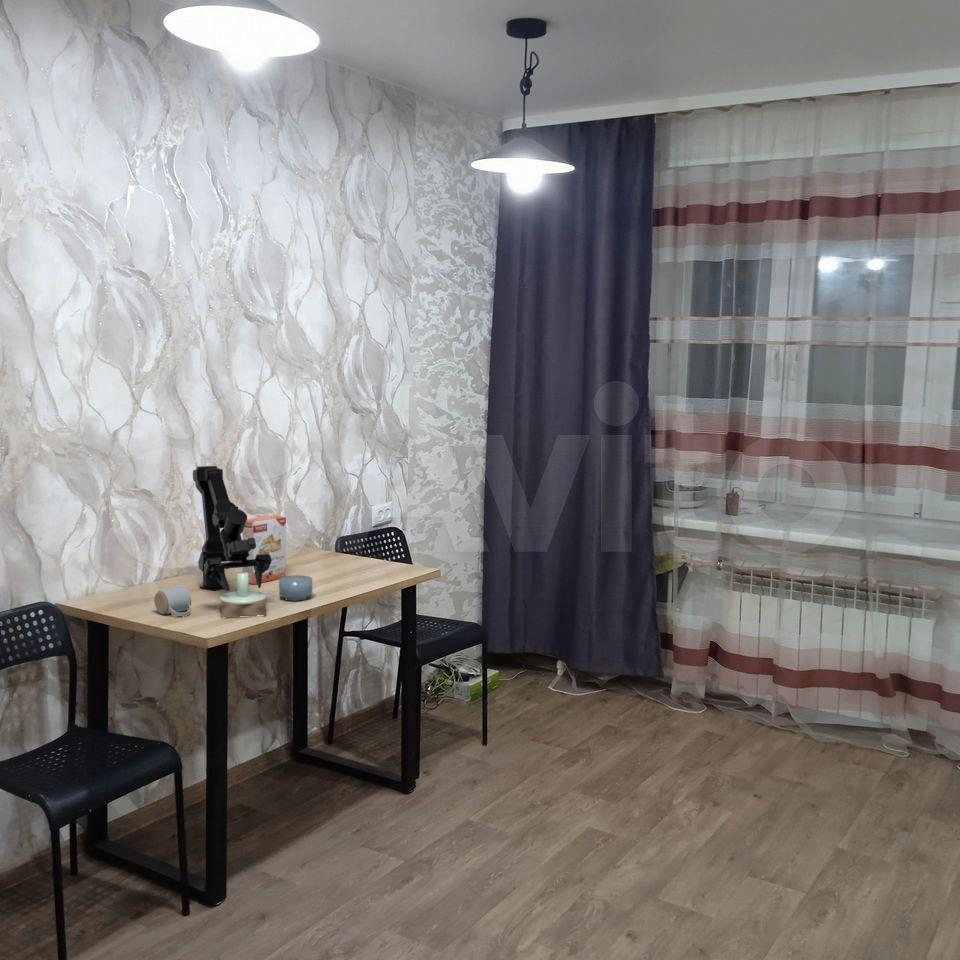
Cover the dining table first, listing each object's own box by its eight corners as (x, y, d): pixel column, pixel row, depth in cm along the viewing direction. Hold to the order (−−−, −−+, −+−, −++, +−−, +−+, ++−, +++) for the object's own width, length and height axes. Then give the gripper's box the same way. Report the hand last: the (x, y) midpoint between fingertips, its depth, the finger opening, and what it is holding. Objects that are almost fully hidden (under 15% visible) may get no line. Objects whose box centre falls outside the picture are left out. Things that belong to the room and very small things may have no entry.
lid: (210, 600, 281) (209, 574, 280) (241, 591, 292) (241, 566, 291) (244, 606, 274) (244, 580, 273) (275, 597, 286) (275, 572, 285)
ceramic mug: (152, 612, 281) (152, 586, 280) (177, 607, 287) (177, 581, 286) (173, 620, 274) (172, 593, 273) (198, 614, 280) (198, 588, 279)
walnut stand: (222, 618, 276) (222, 604, 276) (221, 607, 288) (221, 594, 287) (265, 616, 280) (265, 602, 279) (263, 605, 291) (263, 592, 290)
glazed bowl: (272, 599, 299) (272, 580, 298) (293, 592, 308) (293, 574, 307) (297, 603, 294) (297, 584, 293) (318, 597, 303) (318, 578, 302)
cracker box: (253, 585, 316) (253, 521, 314) (241, 582, 320) (241, 519, 317) (287, 578, 327) (286, 516, 325) (274, 575, 331) (274, 514, 328)
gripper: (205, 531, 280) (216, 576, 271) (269, 526, 289) (281, 570, 281) (199, 553, 287) (209, 598, 279) (261, 548, 297) (273, 591, 288)
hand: (244, 589), depth 282 cm, fingers open, 9 cm apart
